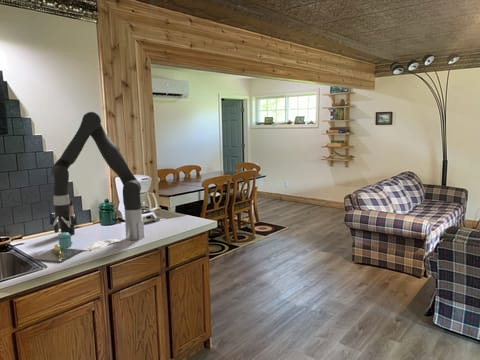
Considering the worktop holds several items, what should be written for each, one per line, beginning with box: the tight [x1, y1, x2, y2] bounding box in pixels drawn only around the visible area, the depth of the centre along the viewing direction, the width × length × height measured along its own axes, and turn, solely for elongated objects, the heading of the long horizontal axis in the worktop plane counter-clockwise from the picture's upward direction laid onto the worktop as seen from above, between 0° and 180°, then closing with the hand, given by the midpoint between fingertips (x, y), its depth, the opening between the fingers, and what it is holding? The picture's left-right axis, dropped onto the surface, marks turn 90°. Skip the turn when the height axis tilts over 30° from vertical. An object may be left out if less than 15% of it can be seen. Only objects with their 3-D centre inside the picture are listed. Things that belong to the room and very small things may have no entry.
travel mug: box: [59, 200, 76, 236], centre depth 212 cm, size 8×8×20 cm
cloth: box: [81, 238, 123, 252], centre depth 195 cm, size 26×14×2 cm, turn 134°
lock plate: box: [31, 243, 84, 264], centre depth 178 cm, size 16×16×6 cm
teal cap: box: [57, 232, 74, 249], centre depth 191 cm, size 10×6×7 cm, turn 168°
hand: (63, 232), depth 191 cm, fingers open, 8 cm apart
